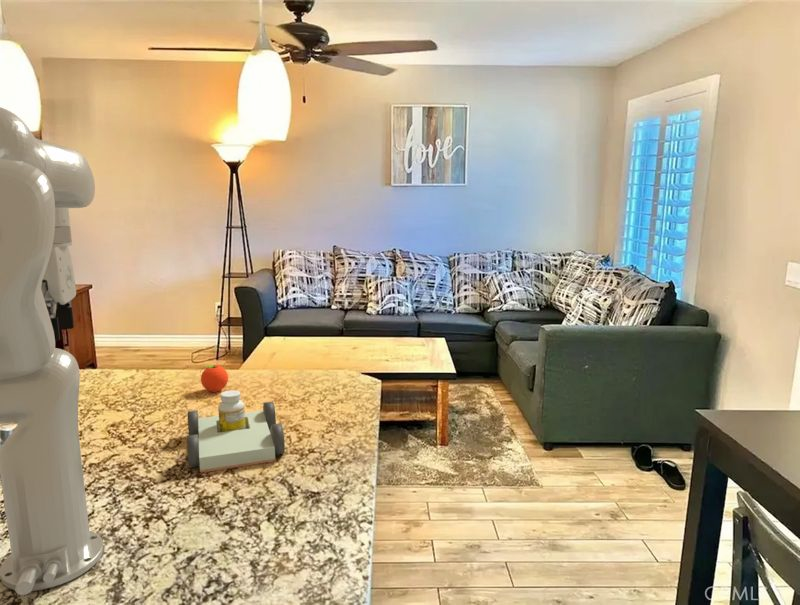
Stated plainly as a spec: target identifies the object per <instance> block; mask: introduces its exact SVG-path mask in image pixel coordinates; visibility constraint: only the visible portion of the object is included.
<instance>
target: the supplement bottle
mask: <svg viewBox="0 0 800 605" xmlns="http://www.w3.org/2000/svg"><path fill="white" fill-rule="evenodd" d="M220 400H221V402H220V403H219V404H218V410H217V411H218V416H219V427H220V432H227V431H235V430H242V429H246V428H245V413H246V411H245V402H243V400H241V392H240V390H231V389H230V390H226V391H223V392H221V393H220Z"/></svg>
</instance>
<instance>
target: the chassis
mask: <svg viewBox="0 0 800 605" xmlns="http://www.w3.org/2000/svg"><path fill="white" fill-rule="evenodd" d="M262 404H263V405H262V406H263V407H262V408H263V409H262V410H256V411H255V410H254V411H248V412H247V411H246V412H245V428H246V429H242V430H235V431H227V432H220V427H219V415H215V416H207V417H199V410H197V409H196V410H187V430H188V435H186V443H187V444H186V448H187V452H186V453H187V462H188V463H187V464H188V468H195V467H199V472H200V473H207V472H213V471H219V470H221V471H222V470H227V469H235V468H239V466H241V467H247V466H253V464H254V465H258V464H259V463H261V464H266V463H265V462H267V463H272V462H271V461H274V462H276V455H283V454H285V452H286V451H285V449H286V446H285V443H286V442H285V433H284V428H283V424H282V423H277V422H276V421H277V418H276V409H275V403H274V401H266V402H263V403H262ZM246 465H247V466H246Z"/></svg>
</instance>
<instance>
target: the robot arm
mask: <svg viewBox="0 0 800 605" xmlns="http://www.w3.org/2000/svg"><path fill="white" fill-rule="evenodd" d="M95 190H96V182H95V177H94V175H93V171H92V169H91V167H90V164H89V162H88V160H87V158H86V157H85V156H84V155H83V154H82V153H81V152H79V151H78V150H74V149H72V148H69V147H67V146H63V145H59V144H56V143H53V142H49V141H47V140H43V139H40V138H37V137H35V135H34V134H33V133H32V131H31V130H30V129H29V127H28V125H27V124H26V123H25V122H24V121H23V120H22V119H21V118H20V117H19V116H18V115H16V114H15V113H14V112H12V111H10V110H8V109H7V108H5V107H4V108H3V107H1V106H0V425H1V424H3V425H5V424H16V425H17V426H16V427H15V429H13V431H12V432H10V434H9V435H8V437H7V438H6V439H5V440H4V442H3V443H2V445H1V448H0V482H1V489H2V497H3V504H4V510H5V517H6V524H7V531H8V539H9V544H10V545H9V546H10V552H11V553H10V554H9V555H8V556H7V557H6V559H4V561H3V562H2V564H1V566H0V581H1V583H2V584H3V585H4V586H5V587H6V588H8V589H10V590H13V591H15V593H16V594H17V595H20V596H25V595H28V594H30V593H31V592H35V591H42V590H46V589H51V588H54V587H57V586H61V585H63V584H66V583H68V582H70V581H72V580H75V579H76V578H78V577H80V576H81V575H83V574H85V573H86V572H88V571H89V570H90V569H91V568H92V567H94V566H95V565H96V564H97V563H98V562H99V560H100V559H101V557H102V555H103V553H104V541H103V539H102V537H101V535H99V534H98V533H96V532H94V531H91V530H90V524H89V515H88V506H87V498H86V497H87V496H86V487H85V481H84V480H85V479H84V478H85V477H84V470H83V468H84V467H83V461H82V452H81V443H80V430H79V397H80V396H79V395H80V382H81V381H80V380H81V379H80V375H81V374H80V373H81V372H80V367H79V363H78V361H77V359H76V357H75V356H74V355H73V354H72V353H70V352H69V351H67V350H64V349H62V348H57V347H56V342H59V341H60V340H61V333H60V330H73V329H74V328H75V322H74V321H75V320H74V312H73V306H72V300H74V298H75V297H76V295H77V287H76V281H75V275H74V268H73V263H72V256H71V253H70V252H71V251H70V246H73V240H72V230H71V219H70V210H69V209H83V208H86V207H88V206H90V205H91V204H92V202H93V201H94V199H95V194H96V193H95V192H96V191H95Z"/></svg>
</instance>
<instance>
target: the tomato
mask: <svg viewBox="0 0 800 605" xmlns="http://www.w3.org/2000/svg"><path fill="white" fill-rule="evenodd" d="M203 369H204V367H202V368H201V369H200V372H199V373H201V372H202V373H201V375H200V381H201V385H202V387H203V388H204V389H205V390H207V391H208V392H213V393H217V392H221V391H222V390H223V389H224V388H225V387H226V386H227V384H228V382H229V373H228V371H227V370H226V369H225V368H223V367H222V366H220V365H206V366H205V369H204V370H203ZM202 370H203V371H202Z"/></svg>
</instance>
